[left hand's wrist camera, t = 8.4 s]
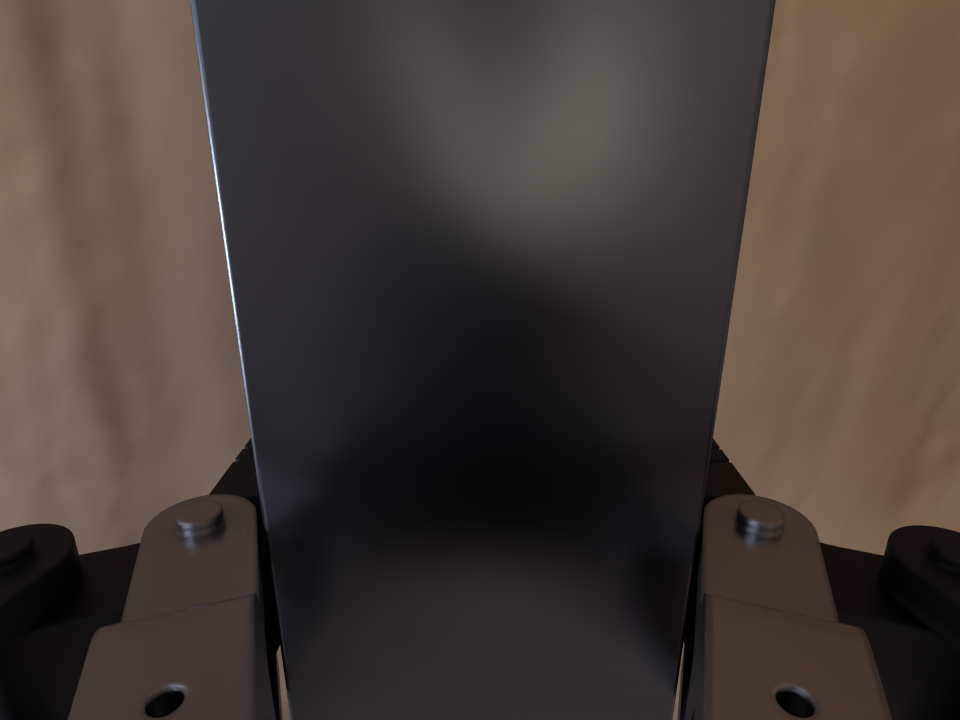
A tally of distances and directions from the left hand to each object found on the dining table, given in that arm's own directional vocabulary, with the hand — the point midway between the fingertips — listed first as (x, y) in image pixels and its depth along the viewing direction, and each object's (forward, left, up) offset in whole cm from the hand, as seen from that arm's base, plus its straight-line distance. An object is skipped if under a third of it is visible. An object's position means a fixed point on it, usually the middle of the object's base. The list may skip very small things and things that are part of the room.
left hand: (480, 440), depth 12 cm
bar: (+2, +9, -5) cm, 10 cm away
